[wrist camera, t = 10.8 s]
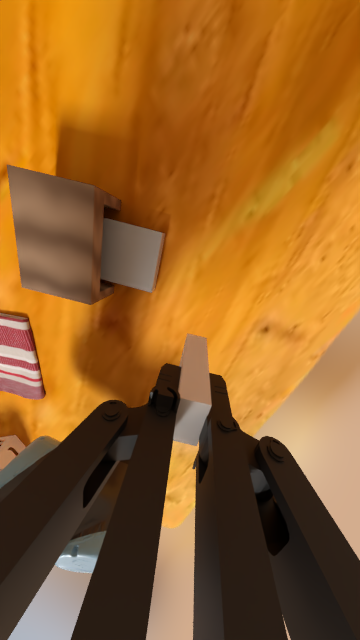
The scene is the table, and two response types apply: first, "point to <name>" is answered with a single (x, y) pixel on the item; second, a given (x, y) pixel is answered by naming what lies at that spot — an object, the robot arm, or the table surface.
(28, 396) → the dish towel
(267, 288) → the table surface
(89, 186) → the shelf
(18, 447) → the grater
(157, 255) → the tile
